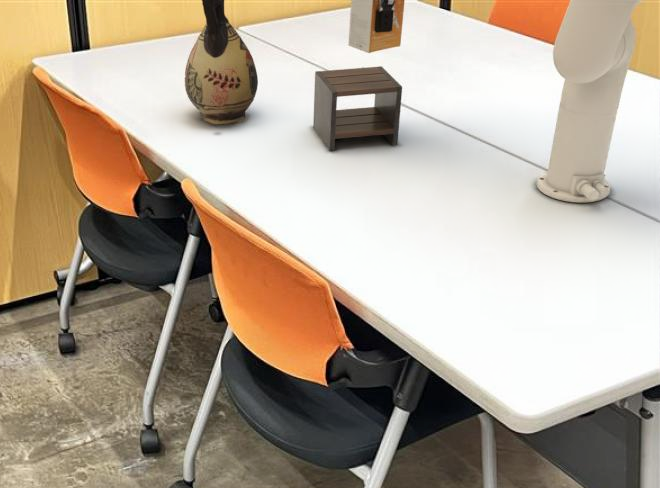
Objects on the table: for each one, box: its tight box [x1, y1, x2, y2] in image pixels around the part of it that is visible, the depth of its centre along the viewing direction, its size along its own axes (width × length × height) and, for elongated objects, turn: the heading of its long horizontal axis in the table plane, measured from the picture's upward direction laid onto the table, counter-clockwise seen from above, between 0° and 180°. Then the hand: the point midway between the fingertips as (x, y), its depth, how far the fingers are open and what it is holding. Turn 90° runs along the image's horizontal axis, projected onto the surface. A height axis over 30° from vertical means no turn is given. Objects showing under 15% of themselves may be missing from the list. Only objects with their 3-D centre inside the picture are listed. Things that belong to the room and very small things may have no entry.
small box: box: [347, 0, 406, 54], centre depth 184 cm, size 8×6×13 cm
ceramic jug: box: [184, 0, 259, 126], centre depth 203 cm, size 17×15×30 cm
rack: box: [312, 66, 403, 152], centre depth 197 cm, size 13×14×12 cm
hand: (376, 24), depth 186 cm, fingers closed on small box, 8 cm apart
